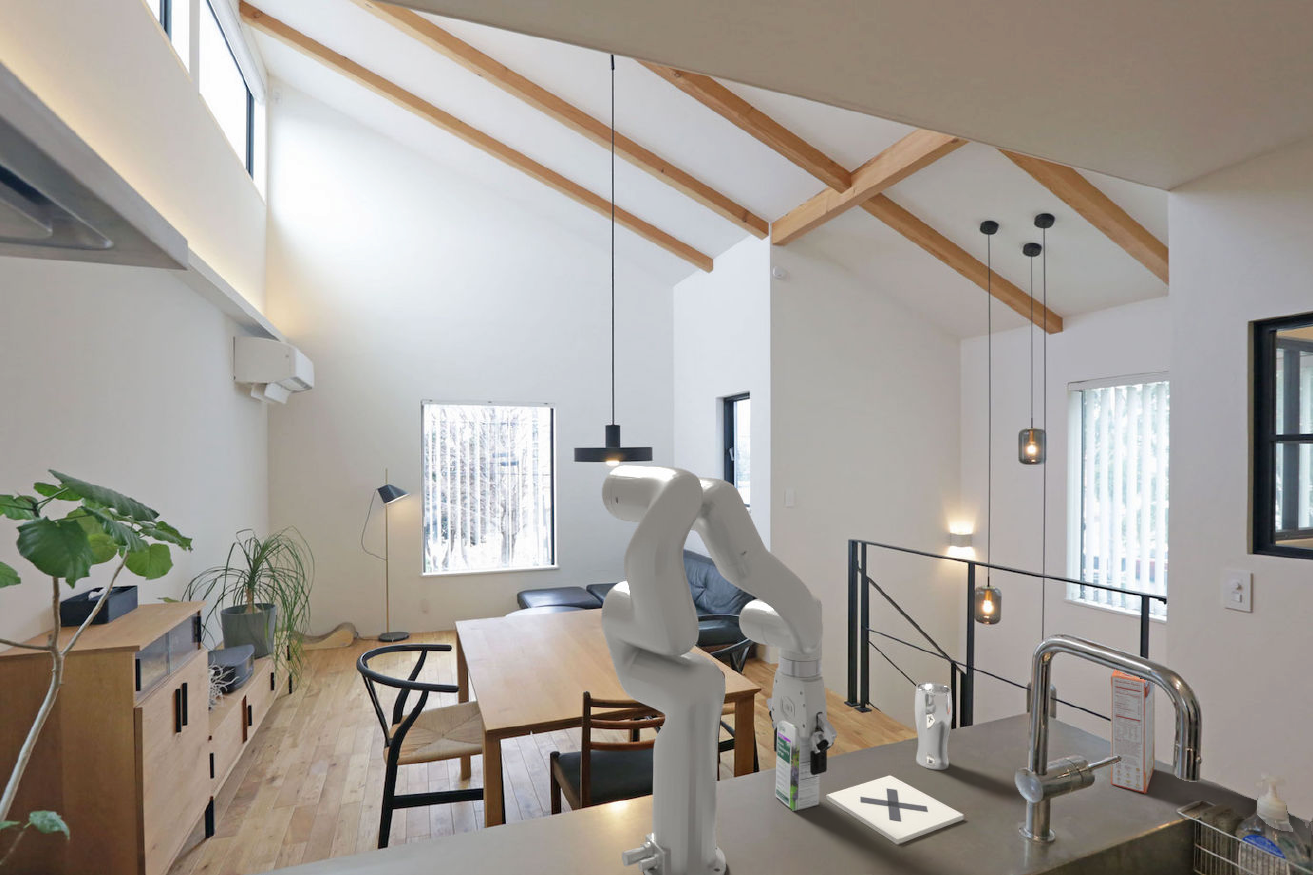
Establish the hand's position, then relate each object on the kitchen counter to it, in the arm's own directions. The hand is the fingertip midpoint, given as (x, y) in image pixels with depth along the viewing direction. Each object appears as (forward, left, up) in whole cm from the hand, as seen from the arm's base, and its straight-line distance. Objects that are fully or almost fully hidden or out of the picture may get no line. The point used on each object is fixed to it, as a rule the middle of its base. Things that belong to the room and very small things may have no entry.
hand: (799, 761), depth 126 cm
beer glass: (+34, -1, -7) cm, 34 cm away
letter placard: (+13, -10, -7) cm, 18 cm away
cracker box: (+64, -23, -7) cm, 68 cm away
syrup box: (0, 0, -7) cm, 7 cm away
